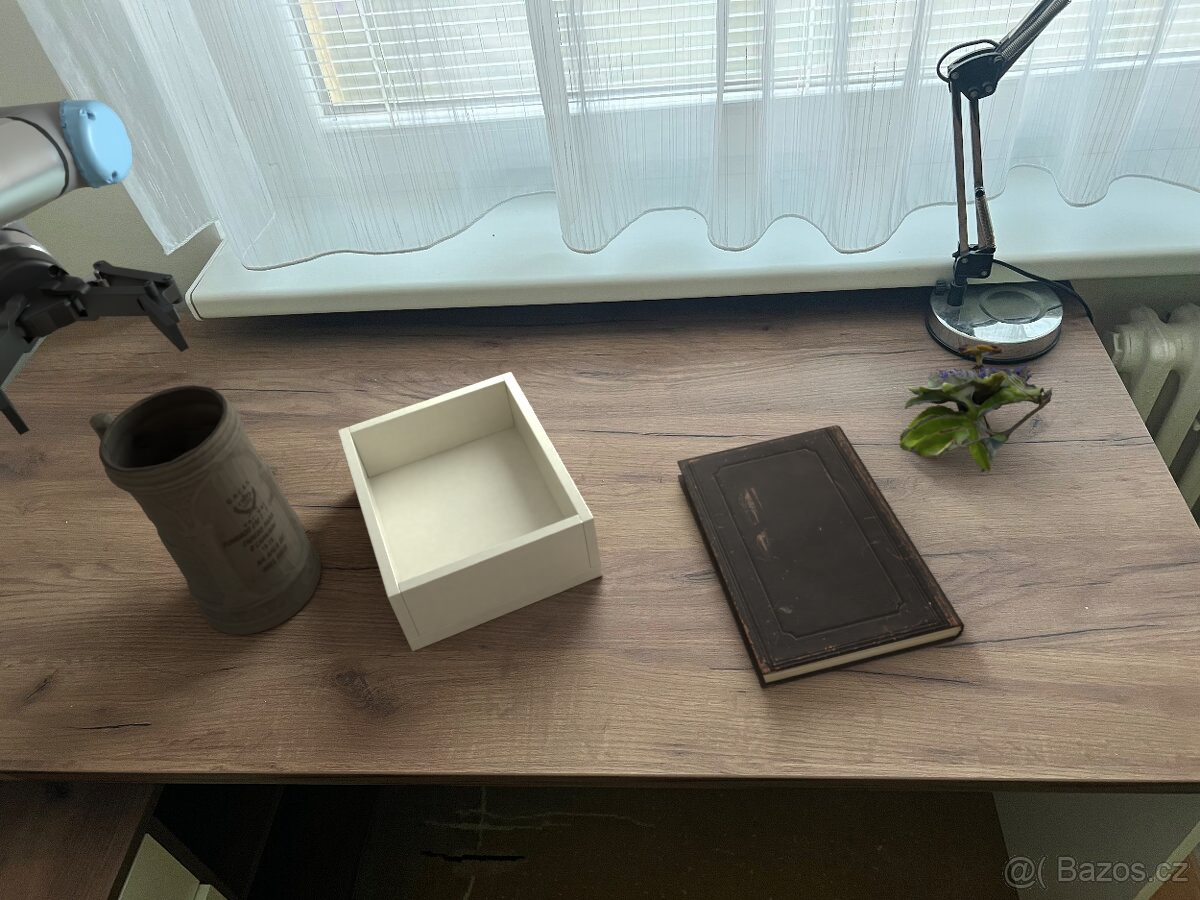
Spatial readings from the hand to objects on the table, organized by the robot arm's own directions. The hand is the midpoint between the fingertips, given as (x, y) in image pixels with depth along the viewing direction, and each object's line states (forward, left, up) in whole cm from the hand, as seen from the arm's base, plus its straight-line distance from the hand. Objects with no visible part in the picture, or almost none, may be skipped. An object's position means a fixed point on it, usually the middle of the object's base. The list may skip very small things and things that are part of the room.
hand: (100, 377), depth 71 cm
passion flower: (+69, -25, -19) cm, 76 cm away
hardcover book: (+49, -29, -19) cm, 60 cm away
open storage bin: (+24, -13, -18) cm, 33 cm away
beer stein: (+3, -9, -19) cm, 21 cm away
